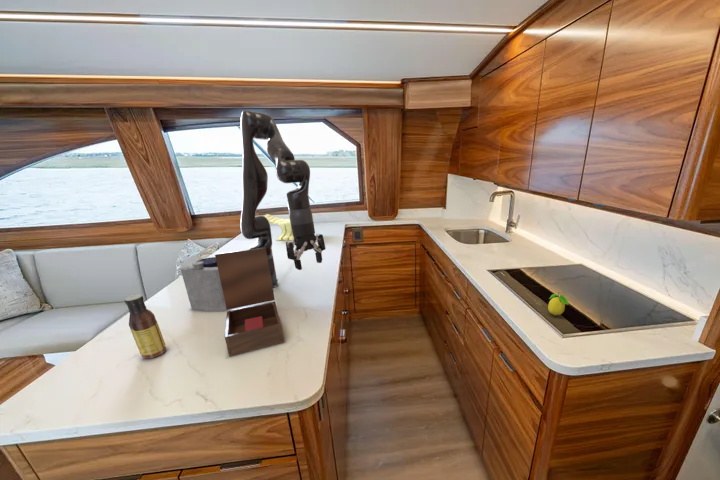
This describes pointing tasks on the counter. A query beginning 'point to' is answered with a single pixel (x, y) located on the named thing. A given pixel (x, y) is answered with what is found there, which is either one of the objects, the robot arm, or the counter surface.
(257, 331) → the chest
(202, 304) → the hip flask
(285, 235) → the slatted curved stool
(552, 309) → the lemon
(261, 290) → the chest lid
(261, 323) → the book
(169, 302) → the counter surface
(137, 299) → the sauce bottle
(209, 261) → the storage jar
